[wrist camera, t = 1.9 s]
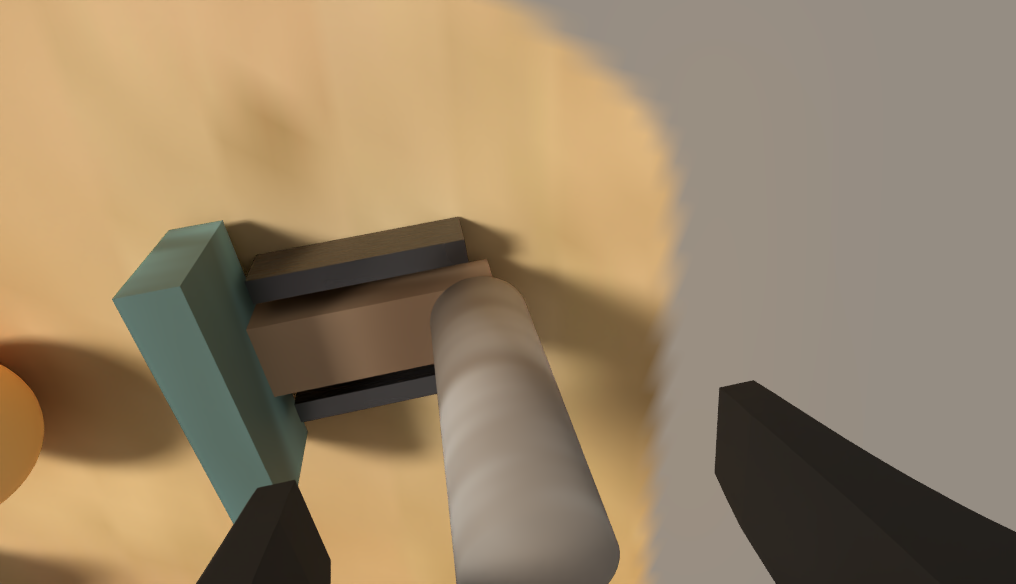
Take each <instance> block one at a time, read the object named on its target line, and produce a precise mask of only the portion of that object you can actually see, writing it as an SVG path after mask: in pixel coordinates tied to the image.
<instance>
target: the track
mask: <svg viewBox="0 0 1016 584" xmlns="http://www.w3.org/2000/svg"><path fill="white" fill-rule="evenodd" d="M463 263H468V257H467V251H466V246H465V241H464V236H463V232H462V228H461V224H460V220H459V217H455V218H450V219H444V220H439V221H434V222H429V223H423V224H418V225H413V226H407V227H402V228H397V229H392V230H386V231H381V232H376V233H371V234H365V235H360V236H355V237H350V238H344V239H339V240H334V241H328V242H323V243H318V244H313V245H307V246H302V247H297V248H292V249H286V250H281V251H276V252H270V253H265V254H260V255H256V257H255V260H254V262H253V264H252V266H251V268H250V270H249V273H248V275H247V277H246V279H245V281H244V282H245V285H246V287H247V290H248V292H249V295H250V297H251V300H252V302H253V304H258V303H264V302H269V301H274V300H279V299H284V298H289V297H294V296H299V295H304V294H309V293H315V292H320V291H325V290H330V289H335V288H340V287H345V286H350V285H355V284H361V283H366V282H371V281H376V280H381V279H386V278H391V277H396V276H401V275H406V274H412V273H417V272H422V271H427V270H432V269H437V268H442V267H447V266H452V265H458V264H463ZM433 394H437V386H436V376H435V366H434V364H430V365H426V366H421V367H416V368H411V369H406V370H401V371H397V372H392V373H387V374H382V375H377V376H373V377H368V378H363V379H358V380H353V381H349V382H344V383H339V384H334V385H329V386H325V387H320V388H315V389H310V390H305V391H301V392H297V394H296V398H295V403H294V406H295V408H296V411H297V413H298V416H299V418H300V420H301V422H306V421H311V420H315V419H320V418H325V417H329V416H334V415H339V414H344V413H348V412H353V411H358V410H362V409H367V408H372V407H376V406H381V405H386V404H391V403H395V402H400V401H405V400H409V399H414V398H419V397H424V396H428V395H433Z"/></svg>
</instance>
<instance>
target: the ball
mask: <svg viewBox="0 0 1016 584" xmlns="http://www.w3.org/2000/svg"><path fill="white" fill-rule="evenodd" d="M43 438H44V419H43V414H42V410H41V408H40V405H39V402H38V400H37V398H36V396H35V395H34V393H33V391H32V390H31V389H30V388H29V386H28V385H27V384H26V383H25V382H24V381H23V380H22V379H21V378H20V377H19V376H18V375H16V374H15V373H14V372H12V371H11V370H9V369H8V368H6V367H4V366H2V365H1V364H0V504H1V503H2V502H4V501H5V500H6V499H7V498H8V497H10V496H11V495H12V494H13V493H14V492H15V491H16V490H17V489H18V488H19V487H20V486H21V484H22V483H23V482H24V481H25V480H26V478H27V477H28V475H29V474H30V472H31V471H32V469H33V467H34V466H35V464H36V461H37V459H38V457H39V454H40V451H41V449H42V444H43Z"/></svg>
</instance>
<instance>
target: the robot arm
mask: <svg viewBox="0 0 1016 584" xmlns="http://www.w3.org/2000/svg"><path fill="white" fill-rule="evenodd" d="M718 405H719V406H718V422H717V440H716V457H715V458H716V459H715V475H716V477H717V479H718V481H719V483H720V485H721V488H722V490H723V492H724V494H725V496H726V498H727V500H728V503H729V505H730V507H731V508H732V511H733V513H734V515H735V517H736V518H737V521H738V523H739V525H740V527H741V528H742V530H743V532H744V533H745V535H746V537H747V538H748V540H749V542H750V543H751V545H752V546H753V548H754V550H755V551H756V553H757V554H758V556H759V557H760V559H761V561H762V562H763V564H764V566H765V567H766V569H767V570H768V572H769V573H770V575H771V577H772V578H773V580H774V581H775V583H776V584H1016V532H1015V531H1013V530H1010V529H1008V528H1006V527H1004V526H1002V525H1000V524H998V523H996V522H994V521H992V520H990V519H988V518H986V517H984V516H982V515H980V514H978V513H976V512H974V511H972V510H970V509H968V508H966V507H964V506H962V505H960V504H959V503H957V502H955V501H953V500H951V499H949V498H948V497H946V496H944V495H942V494H940V493H938V492H936V491H935V490H933V489H931V488H929V487H927V486H926V485H924V484H922V483H920V482H918V481H916V480H915V479H913V478H911V477H909V476H907V475H906V474H904V473H902V472H900V471H899V470H897V469H895V468H894V467H892V466H890V465H889V464H887V463H885V462H883V461H881V460H880V459H878V458H877V457H875V456H873V455H872V454H870V453H868V452H867V451H865V450H863V449H862V448H860V447H858V446H857V445H855V444H854V443H852V442H850V441H849V440H847V439H845V438H843V437H842V436H841V435H839V434H837V433H836V432H834V431H832V430H831V429H829V428H828V427H826V426H825V425H823V424H822V423H820V422H818V421H817V420H815V419H814V418H812V417H810V416H809V415H807V414H806V413H804V412H803V411H801V410H800V409H798V408H796V407H795V406H793V405H792V404H790V403H788V402H787V401H785V400H784V399H782V398H781V397H779V396H778V395H776V394H775V393H773V392H771V391H770V390H768V389H767V388H765V387H763V386H762V385H760V384H758V383H757V382H755V381H754V380H753V381H748V382H744V383H739V384H735V385H730V386H725V387H720V388H719V404H718ZM330 582H331V560H330V558H329V555H328V553H327V551H326V549H325V546H324V544H323V542H322V539H321V537H320V535H319V533H318V530H317V528H316V526H315V524H314V521H313V519H312V517H311V515H310V512H309V510H308V508H307V506H306V503H305V501H304V499H303V496H302V494H301V492H300V490H299V487H298V485H297V483H296V481H295V480H291V481H286V482H282V483H277V484H273V485H268V486H263V487H259V488H257V489H256V490H255V492H254V493H253V494H252V496H251V498H250V499H249V501H248V502H247V504H246V505H245V507H244V508H243V510H242V512H241V513H240V515H239V516H238V518H237V520H236V521H235V523H234V524H233V526H232V528H231V529H230V531H229V533H228V534H227V536H226V537H225V539H224V541H223V542H222V544H221V545H220V547H219V548H218V550H217V552H216V553H215V555H214V556H213V558H212V560H211V561H210V563H209V564H208V566H207V567H206V569H205V571H204V572H203V574H202V575H201V577H200V578H199V580H198V581H197V583H196V584H330Z"/></svg>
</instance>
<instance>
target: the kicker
mask: <svg viewBox="0 0 1016 584" xmlns="http://www.w3.org/2000/svg"><path fill="white" fill-rule="evenodd" d="M245 279H246V277H245V275H244V272H243V270H242V267H241V265H240V262H239V260H238V257H237V255H236V252H235V250H234V247H233V245H232V242H231V240H230V237H229V235H228V232H227V230H226V227H225V225H224V223H223V220H222V221H216V222H211V223H206V224H200V225H195V226H189V227H184V228H178V229H173V230H169V231H168V232H167V233H166V234H165V236H164V237H163V238H162V239H161V240H160V242H159V243H158V244H157V245H156V246H155V248H154V249H153V250H152V251H151V253H150V254H149V255H148V256H147V257H146V259H145V260H144V261H143V262H142V263H141V265H140V266H139V267H138V268H137V270H136V271H135V272H134V273H133V274H132V276H131V277H130V278H129V279H128V280H127V282H126V283H125V284H124V285H123V287H122V288H121V289H120V290H119V291H118V293H117V294H116V295H115V296H114V297H113V299H112V300H113V302H114V304H115V306H116V308H117V309H118V311H119V313H120V315H121V317H122V319H123V321H124V322H125V324H126V326H127V328H128V330H129V332H130V333H131V335H132V337H133V339H134V341H135V343H136V345H137V346H138V348H139V350H140V352H141V354H142V356H143V358H144V359H145V361H146V363H147V365H148V367H149V369H150V370H151V372H152V374H153V376H154V378H155V380H156V382H157V383H158V385H159V387H160V389H161V391H162V393H163V394H164V396H165V398H166V400H167V402H168V404H169V406H170V407H171V409H172V411H173V413H174V415H175V417H176V419H177V420H178V422H179V424H180V426H181V428H182V430H183V431H184V433H185V435H186V437H187V439H188V441H189V443H190V444H191V446H192V448H193V450H194V452H195V454H196V456H197V457H198V459H199V461H200V463H201V465H202V467H203V468H204V470H205V472H206V474H207V476H208V478H209V480H210V481H211V483H212V485H213V487H214V489H215V491H216V493H217V494H218V496H219V498H220V500H221V502H222V504H223V505H224V507H225V509H226V511H227V513H228V515H229V517H230V518H231V520H232V522H233V524H234V523H235V521H236V520H237V518H238V516H239V515H240V513H241V512H242V510H243V508H244V507H245V505H246V504H247V502H248V501H249V499H250V498H251V496H252V494H253V493H254V492H255V490H256V489H257V488H259V487H263V486H268V485H273V484H277V483H282V482H286V481H291V480H295V481H296V483H297V485H298V482H299V477H300V471H301V466H302V460H303V455H304V449H305V444H306V438H307V433H308V431H307V429H306V426H305V424H304V422H301V420H300V418H299V416H298V413H297V411H296V408H295V406H294V403H295V399H294V397H293V394H292V393H296V392H301V391H305V390H310V389H315V388H320V387H325V386H329V385H334V384H339V383H344V382H349V381H353V380H358V379H363V378H368V377H373V376H377V375H382V374H387V373H392V372H397V371H401V370H406V369H411V368H416V367H421V366H426V365H430V364H434V366H435V376H436V386H437V396H438V405H439V415H440V425H441V435H442V445H443V455H444V464H445V474H446V484H447V494H448V504H449V514H450V524H451V533H452V543H453V553H454V563H455V573H456V583H457V584H608V583H609V582H610V581H611V579H612V578H613V576H614V574H615V572H616V570H617V567H618V564H619V559H620V550H619V545H618V542H617V539H616V537H615V534H614V532H613V529H612V526H611V524H610V521H609V519H608V516H607V513H606V511H605V508H604V506H603V503H602V500H601V498H600V495H599V493H598V490H597V487H596V485H595V482H594V480H593V477H592V474H591V472H590V469H589V467H588V464H587V461H586V459H585V456H584V454H583V451H582V448H581V446H580V443H579V441H578V438H577V435H576V433H575V430H574V428H573V425H572V422H571V420H570V417H569V415H568V412H567V409H566V407H565V404H564V402H563V399H562V396H561V394H560V391H559V389H558V386H557V383H556V381H555V378H554V376H553V373H552V370H551V368H550V365H549V363H548V360H547V357H546V355H545V352H544V350H543V347H542V344H541V342H540V339H539V337H538V334H537V331H536V329H535V326H534V324H533V321H532V318H531V316H530V313H529V311H528V308H527V305H526V303H525V300H524V298H523V297H522V295H521V294H520V292H519V291H518V290H517V289H516V288H515V287H514V286H512V285H511V284H509V283H508V282H506V281H504V280H501V279H498V278H494V277H492V273H491V270H490V267H489V264H488V261H487V259H483V260H478V261H473V262H468V263H463V264H458V265H453V266H447V267H442V268H437V269H432V270H427V271H422V272H417V273H412V274H407V275H401V276H396V277H391V278H386V279H381V280H376V281H371V282H366V283H361V284H356V285H350V286H345V287H340V288H335V289H330V290H325V291H320V292H315V293H310V294H304V295H299V296H294V297H289V298H284V299H279V300H274V301H269V302H264V303H259V304H253V302H252V300H251V297H250V295H249V292H248V290H247V287H246V285H245V282H244V281H245Z"/></svg>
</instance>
